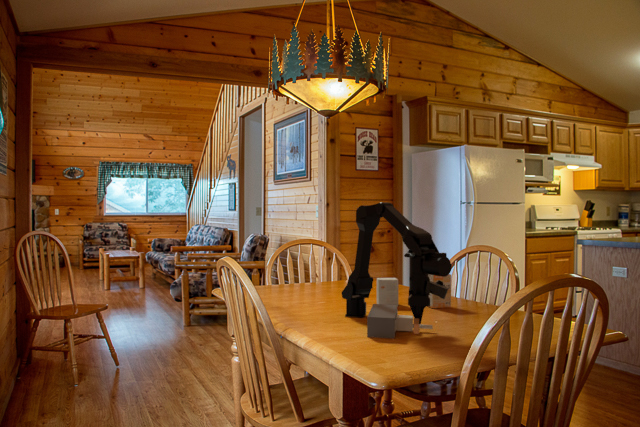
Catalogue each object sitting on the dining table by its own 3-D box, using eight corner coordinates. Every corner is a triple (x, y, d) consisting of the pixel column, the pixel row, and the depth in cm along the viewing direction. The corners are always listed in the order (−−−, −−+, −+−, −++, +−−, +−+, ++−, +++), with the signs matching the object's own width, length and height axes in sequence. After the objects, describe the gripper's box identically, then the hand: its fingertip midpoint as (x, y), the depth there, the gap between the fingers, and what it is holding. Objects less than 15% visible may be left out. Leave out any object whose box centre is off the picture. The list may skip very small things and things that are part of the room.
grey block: (367, 337, 142) (367, 316, 142) (373, 321, 162) (373, 303, 162) (395, 338, 140) (395, 318, 140) (397, 322, 160) (397, 304, 160)
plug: (396, 330, 148) (396, 317, 148) (396, 327, 152) (396, 314, 152) (432, 332, 146) (432, 319, 146) (432, 329, 150) (432, 316, 150)
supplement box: (432, 308, 183) (432, 274, 183) (426, 306, 188) (426, 273, 188) (451, 307, 185) (451, 274, 185) (445, 305, 190) (445, 272, 190)
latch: (413, 333, 136) (413, 324, 136) (413, 326, 144) (413, 318, 144) (419, 333, 136) (419, 324, 136) (419, 327, 144) (419, 318, 144)
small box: (395, 303, 193) (396, 277, 193) (398, 306, 188) (398, 279, 188) (376, 303, 193) (376, 277, 193) (378, 306, 188) (378, 279, 187)
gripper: (448, 278, 134) (448, 333, 134) (444, 269, 153) (444, 318, 153) (408, 276, 137) (407, 331, 137) (408, 269, 155) (408, 317, 155)
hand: (418, 324), depth 145 cm, fingers closed
